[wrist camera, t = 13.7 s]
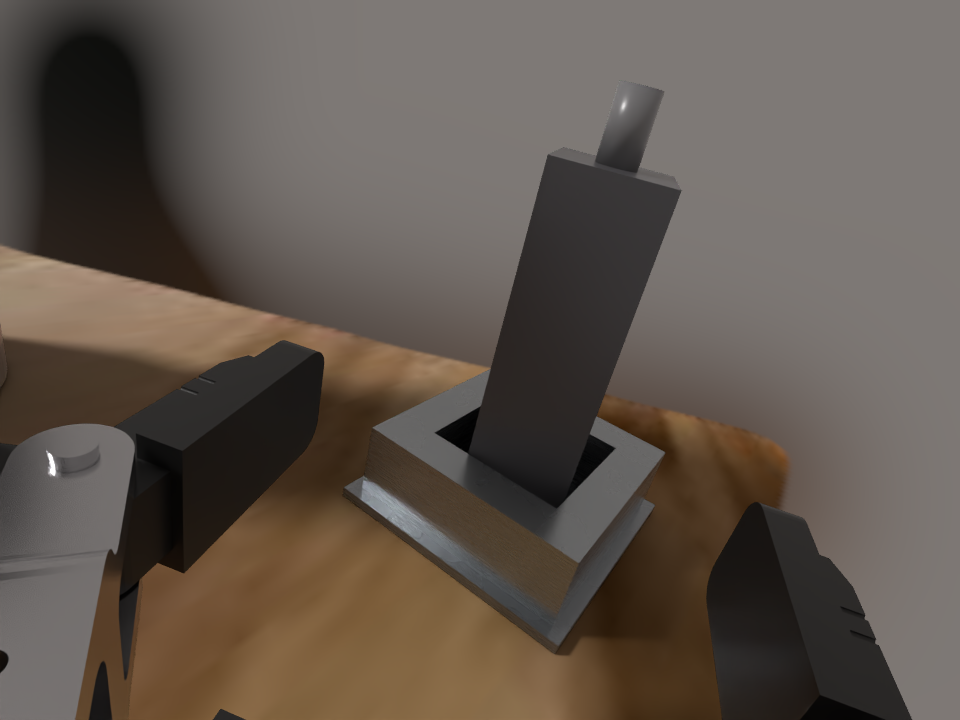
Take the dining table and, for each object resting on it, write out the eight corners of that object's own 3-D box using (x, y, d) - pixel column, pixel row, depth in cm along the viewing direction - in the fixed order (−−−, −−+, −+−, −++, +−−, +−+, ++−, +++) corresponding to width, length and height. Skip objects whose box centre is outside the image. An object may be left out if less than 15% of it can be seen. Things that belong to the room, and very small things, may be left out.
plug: (453, 510, 23) (571, 65, 16) (477, 457, 27) (583, 74, 19) (547, 545, 22) (715, 100, 15) (559, 486, 26) (700, 103, 19)
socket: (343, 494, 23) (353, 425, 21) (480, 412, 31) (495, 358, 29) (554, 653, 19) (586, 581, 17) (652, 511, 27) (679, 453, 25)
